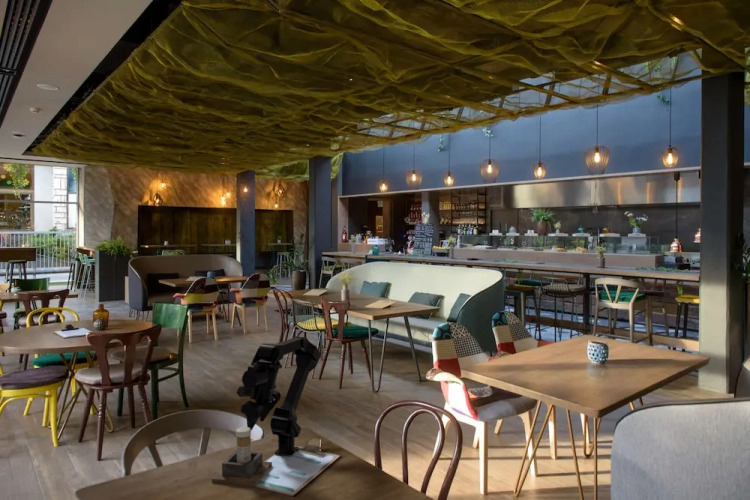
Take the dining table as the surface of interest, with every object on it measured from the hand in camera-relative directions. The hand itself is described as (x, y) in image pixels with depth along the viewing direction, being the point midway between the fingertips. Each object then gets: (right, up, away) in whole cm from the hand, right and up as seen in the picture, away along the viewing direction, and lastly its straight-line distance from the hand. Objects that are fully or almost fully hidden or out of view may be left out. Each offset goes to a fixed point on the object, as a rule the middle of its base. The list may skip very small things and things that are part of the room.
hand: (255, 425), depth 173 cm
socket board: (-2, -13, -7) cm, 15 cm away
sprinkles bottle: (-2, -12, -7) cm, 14 cm away
